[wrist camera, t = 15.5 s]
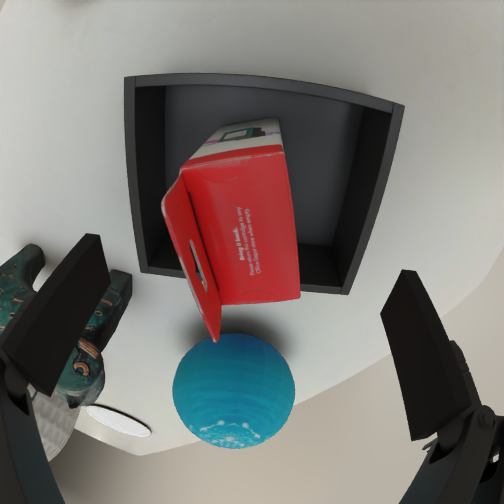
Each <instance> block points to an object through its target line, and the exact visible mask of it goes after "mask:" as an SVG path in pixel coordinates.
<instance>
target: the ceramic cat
mask: <svg viewBox="0 0 504 504" xmlns="http://www.w3.org/2000/svg"><path fill="white" fill-rule="evenodd" d="M44 266H45V261H44V256H43V252H42V250H41V249H40V248H39V247H38V246H36V245H31V244H28V245H27V246H25V247H24V248H23V249H22V250H21V251H20V252H18V253H17V254H16V255H14V256H13V257H12V258H10V259H9V260H8V261H6V262H5V263H4V264H3V265H2V266H1V267H0V335H1V333H2V331H3V330H4V328H5V327H6V325H7V324H8V322H9V321H10V319H11V318H13V315H14V314H15V312H16V311H18V308H19V307H20V305H21V304H22V302H23V301H24V300H25V299H26V298H27V297H28V296H30V295H31V294H32V293H33V292H36V291H34V289H33V286H32V285H33V283H34V281H35V279H36V277H37V275H38V274H39V272H40V271H41V269H42V268H43V267H44ZM109 275H110V279H111V284H110V286H109V287H108V289H107V291H106V292H105V294H104V296H103V297H102V299H101V301H100V303H99V304H98V306H97V308H96V309H95V311H94V313H93V315H92V316H91V318H90V320H89V322H88V324H87V325H86V327H85V329H84V331H83V333H82V335H81V336H80V338H79V340H78V342H77V344H76V346H75V348H74V350H73V352H72V354H71V356H70V358H69V360H68V362H67V364H66V366H65V368H64V370H63V372H62V374H61V376H60V378H59V380H58V383H57V385H56V387H55V389H54V391H53V393H54V394H55V395H56V396H58V397H59V398H60V399H61V400H62V401H64V402H66V403H68V406H69V408H70V409H74V408H78V406H87V405H90V404H92V403H94V402H95V401H96V400H97V399H98V397H99V395H100V393H101V392H102V390H103V388H104V384H105V371H104V363H103V358H102V355H101V352H102V351H103V350H104V348H105V347H106V345H107V343H108V342H109V340H110V338H111V337H112V335H113V334H114V332H115V330H116V328H117V326H118V323H119V321H120V319H121V317H122V315H123V313H124V311H125V309H126V308H127V305H128V302H129V300H130V298H131V296H132V275H130V274H127V273H123V272H120V271H117V270H112V271H110V272H109ZM36 293H37V292H36ZM37 393H38V391H35V393H34V395H33V396H32V397H31V400H32V401H33V400H34V398H35V396H36V395H37Z"/></svg>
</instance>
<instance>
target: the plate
mask: <svg viewBox="0 0 504 504" xmlns="http://www.w3.org/2000/svg"><path fill="white" fill-rule="evenodd" d="M86 411H87V412H88V414H89V415H91V416H92V417H93V418H94V419H96V420H97V421H99V422H100V423H102V424H104V425H106V426H108V427H110V428H112V429H114V430H117V431H119V432H122V433H125V434H129V435H133V436H139V437H147V436H150V435H151V431H150V430H149V429H148V428H147V427H146V426H144V425H143V424H141V423H140V422H138V421H136V420H134V419H132V418H130V417H128V416H126V415H124V414H121V413H119V412H116V411H113V410H110V409H107V408H104V407H100V406H95V405H88V406H87V407H86Z"/></svg>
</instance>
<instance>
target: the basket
mask: <svg viewBox="0 0 504 504" xmlns="http://www.w3.org/2000/svg"><path fill="white" fill-rule="evenodd" d="M404 108H405V106H404V105H401V104H398V103H395V102H391V101H388V100H385V99H381V98H378V97H374V96H370V95H366V94H362V93H358V92H354V91H350V90H346V89H341V88H336V87H332V86H327V85H321V84H316V83H310V82H304V81H298V80H291V79H283V78H275V77H266V76H255V75H242V74H223V73H171V74H153V75H140V76H129V77H124V127H125V149H126V164H127V176H128V187H129V197H130V205H131V214H132V221H133V229H134V236H135V242H136V248H137V255H138V260H139V266H140V272H141V273H147V274H149V273H150V274H155V275H163V276H170V277H178V278H186V276H185V274H184V271H183V269H182V266H181V263H180V261H179V258H178V255H177V252H176V250H175V247H174V244H173V241H172V239H171V236H170V233H169V230H168V227H167V225H166V222H165V219H164V216H163V214H162V210H161V202H162V199H163V197H164V196H165V195H166V193H167V191H168V190H169V189H170V188H171V186H172V185H173V184H174V182H175V181H176V180H177V178H178V177H179V172H180V168H181V167H182V165H184V164H185V163H186V162H187V161H188V160H189V159H190V158H191V157H192V156H193V155H194V154H195V153H196V152H197V151H198V149H199V148H200V147H201V146H202V145H203V144H204V143H205V142H206V141H207V140H208V139H209V138H210V137H211V136H212V135H213V134H214V133H215V132H216V131H217V130H218V129H219V128H220V127H222V126H228V125H233V124H238V123H243V122H248V121H253V120H259V119H265V118H271V117H277V118H278V121H279V127H280V133H281V138H282V143H283V148H284V154H285V159H286V164H287V169H288V175H289V182H290V187H291V195H292V202H293V210H294V219H295V227H296V236H297V246H298V261H299V275H300V291H305V292H317V293H328V294H340V295H349V292H350V290H351V287H352V284H353V282H354V279H355V277H356V274H357V272H358V269H359V266H360V263H361V261H362V258H363V255H364V252H365V250H366V247H367V244H368V241H369V238H370V235H371V232H372V229H373V226H374V223H375V220H376V217H377V214H378V211H379V207H380V204H381V201H382V197H383V194H384V191H385V187H386V184H387V180H388V176H389V173H390V169H391V165H392V161H393V157H394V153H395V149H396V145H397V141H398V136H399V132H400V127H401V123H402V118H403V113H404ZM190 251H191V253H192V256H193V259H194V262H195V271H196V275H197V277H198V279H201V280H202V281H203V279H202V277H201V274H200V271H199V268H198V265H197V262H196V259H195V256H194V253H193V251H192V248H191V245H190Z"/></svg>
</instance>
